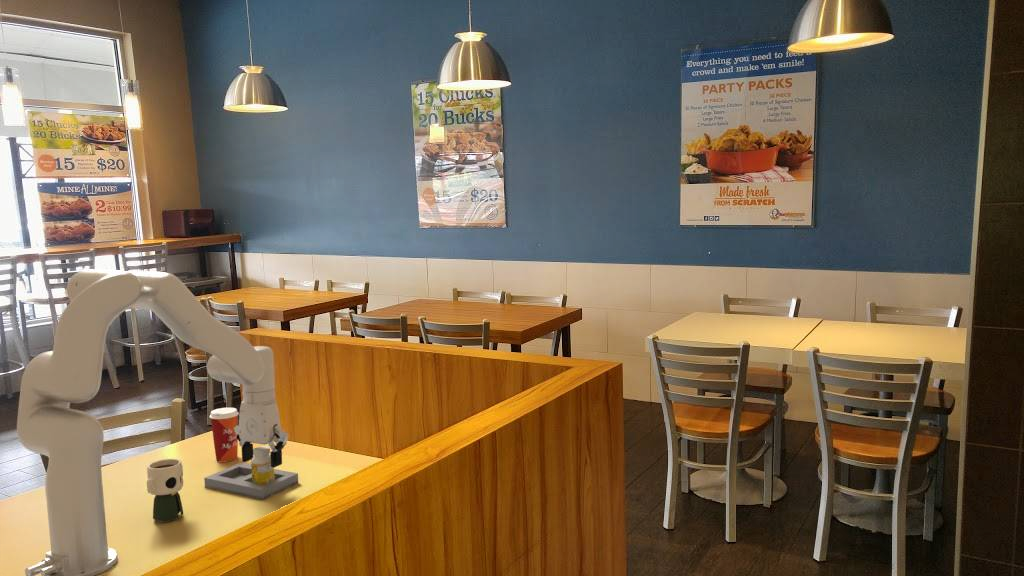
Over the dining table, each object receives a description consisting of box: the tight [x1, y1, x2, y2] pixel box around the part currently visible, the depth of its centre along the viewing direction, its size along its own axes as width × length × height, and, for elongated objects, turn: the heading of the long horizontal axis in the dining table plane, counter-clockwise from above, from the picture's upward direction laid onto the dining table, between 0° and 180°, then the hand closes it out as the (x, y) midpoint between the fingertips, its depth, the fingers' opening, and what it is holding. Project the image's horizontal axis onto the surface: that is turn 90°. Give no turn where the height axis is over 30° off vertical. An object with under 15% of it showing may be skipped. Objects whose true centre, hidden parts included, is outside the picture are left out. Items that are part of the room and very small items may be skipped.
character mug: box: [146, 458, 184, 523], centre depth 165 cm, size 11×7×13 cm, turn 166°
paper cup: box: [209, 407, 240, 463], centre depth 205 cm, size 8×8×14 cm
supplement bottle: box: [250, 445, 275, 485], centre depth 182 cm, size 5×5×10 cm
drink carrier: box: [203, 462, 299, 500], centre depth 185 cm, size 12×20×2 cm, turn 64°
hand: (262, 463), depth 182 cm, fingers open, 9 cm apart
